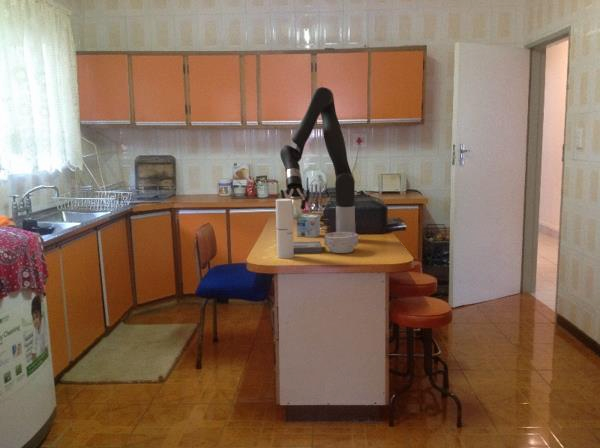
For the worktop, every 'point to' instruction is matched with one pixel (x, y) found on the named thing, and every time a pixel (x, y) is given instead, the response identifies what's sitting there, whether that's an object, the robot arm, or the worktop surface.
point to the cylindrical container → (284, 228)
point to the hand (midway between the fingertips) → (296, 208)
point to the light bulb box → (308, 226)
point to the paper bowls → (341, 241)
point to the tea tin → (297, 207)
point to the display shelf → (307, 247)
